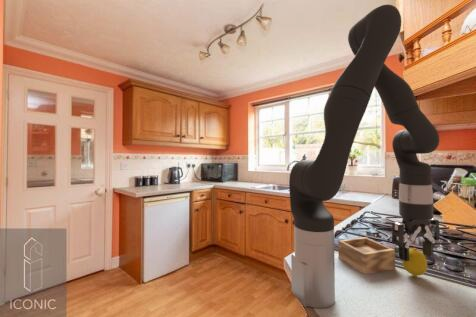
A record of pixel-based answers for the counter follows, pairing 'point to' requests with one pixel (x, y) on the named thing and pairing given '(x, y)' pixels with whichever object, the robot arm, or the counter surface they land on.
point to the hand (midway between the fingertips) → (416, 257)
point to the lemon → (415, 262)
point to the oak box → (366, 255)
